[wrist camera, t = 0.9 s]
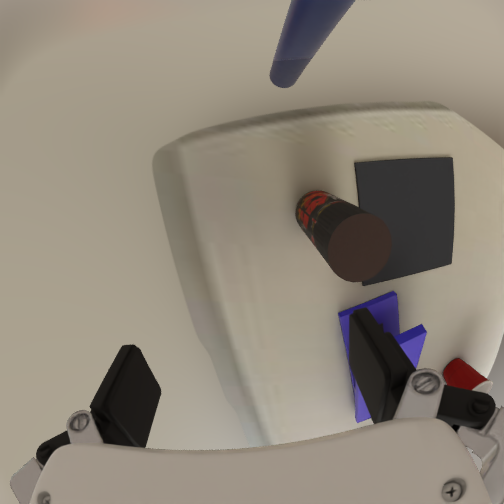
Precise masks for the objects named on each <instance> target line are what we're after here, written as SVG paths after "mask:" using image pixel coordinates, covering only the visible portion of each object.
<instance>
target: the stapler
mask: <svg viewBox="0 0 504 504" xmlns="http://www.w3.org/2000/svg"><path fill="white" fill-rule="evenodd" d="M365 307H367V308H368V310H369V311H370V313H371V314H372V315H373V317H374V318H375V320H376V321H377V323H378V324H379V325H380V327H381V328H382V330H383V331H384V333H385V332H390V333H391V334H392V335H393V336H394V338H395V339H396V341H397V342H398V343H399V345H400V346H401V348H402V349H403V351H404V352H405V353H406V355H407V356H408V358H409V359H410V361H411V362H412V364H413V365H414V367H415V368H416V367H417V364H418V361H419V358H420V354H421V351H422V348H423V344H424V340H425V337H426V333H427V331H426V330H425V328H424V327H423V325H422V324H421V325H419V326H416V327H414V328H412V329H410V330H408V331H405V332H403V333H401V334H400V331H399V314H398V301H397V294H396V293H395V292H394V291H392V292H389V293H387V294H385V295H382V296H380V297H377V298H375V299H373V300H370V301H368V302H365V303H363V304H360V305H358V306H355V307H353V308H350V309H347V310H345V311H342V312H339V313H338V316H339V320H340V324H341V329H342V333H343V338H344V343H345V347H346V352H347V357H348V362H349V315H350V314H353V311H354V310H357V309H361V308H365ZM349 368H350V365H349ZM350 373H351V378H352V384H353V390H354V395H355V418H356V421H357V423H359V422H361V421H364V420H367V419H369V418H371V416H370V413H369V411H368V409H367V406H366V404H365V401H364V399H363V397H362V394H361V392H360V389H359V387H358V385H357V382H356V380H355V378H354V375H353V373H352V371H351V368H350Z"/></svg>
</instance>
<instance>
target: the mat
mask: <svg viewBox="0 0 504 504" xmlns="http://www.w3.org/2000/svg"><path fill="white" fill-rule="evenodd" d="M354 164H355V172H356V180H357V190H358V200H359V208H361V209H363V210H365V211H367V212H369V213H371V214H373V215H375V216H377V217H378V218H380V219H381V220H382V221H384V223H385V224H386V226H387V227H388V229H389V231H390V234H391V240H392V247H391V254H390V256H389V259H388V261H387V263H386V264H385V266H384V267H383V269H382V270H381V271H380V272H379V273H378V274H377V275H375V276H373V277H372V278H370V279H368V280H365V281H362V285H363V286H366V285H371V284H375V283H379V282H383V281H388V280H392V279H396V278H400V277H404V276H408V275H412V274H416V273H420V272H423V271H427V270H431V269H435V268H438V267H442V266H445V265H449V264H451V263H452V253H453V239H454V212H455V198H454V171H453V158H451V157H449V158H416V159H397V160H382V161H370V162H359V163H354Z"/></svg>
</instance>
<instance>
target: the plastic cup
mask: <svg viewBox="0 0 504 504" xmlns="http://www.w3.org/2000/svg"><path fill="white" fill-rule="evenodd" d="M443 375H444V379H445V381H446V383H447V385H449V386H454V387H458V388H463V389H468V390H473V391H478V392H483V393H486V394H488V392H489V391H490V389H491V387H492V385H493V382H492V381H490V380H487V378H485V377H484V376H482V375H481V374H480V373H478V372H477V371H476V370H475V369H473V368H472V367H471V366H470V365H468V364H467V363H465V362H464V361H463V360H461V359H459V358H457V359H454V360H452V361H451V362H450V363H449V364H448V365H447V366H446V368H445V369H444V372H443Z"/></svg>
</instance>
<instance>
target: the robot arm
mask: <svg viewBox="0 0 504 504" xmlns="http://www.w3.org/2000/svg"><path fill="white" fill-rule="evenodd" d="M349 365H350V368H351V371H352V373H353V375H354V378H355V380H356V382H357V385H358V387H359V389H360V392H361V394H362V397H363V399H364V401H365V404H366V406H367V409H368V411H369V413H370V416H371V418H372V421H373V423H374V424H373V425H369V426H365V427H361V428H357V429H353V430H349V431H345V432H341V433H337V434H333V435H328V436H323V437H319V438H314V439H309V440H304V441H298V442H292V443H286V444H279V445H271V446H263V447H253V448H242V449H227V450H165V449H150V448H145V447H146V444H147V440H148V437H149V433H150V430H151V426H152V423H153V419H154V416H155V412H156V409H157V406H158V402H159V399H160V396H161V388H160V386H159V384H158V382H157V381H156V379H155V377H154V375H153V373H152V371H151V370H150V368H149V366H148V364H147V362H146V360H145V358H144V356H143V354H142V352H141V350H140V349H139V348H138V347H136V346H135V345H124V346H122V347H121V349H120V350H119V352H118V354H117V356H116V358H115V359H114V361H113V363H112V365H111V367H110V369H109V370H108V372H107V374H106V376H105V378H104V380H103V381H102V383H101V385H100V387H99V389H98V391H97V393H96V395H95V397H94V399H93V401H92V403H91V405H90V408H91V412H89V411H86V410H80V411H77V412H75V413H73V414H72V415H71V416H70V417H69V419H68V421H67V431H65V432H63V433H61V434H60V435H57V436H55V437H54V438H52V439H50V440H48V441H46V442H44V443H42V444H41V445H40V446H39V448H38V449H37V453H36V458H37V459H35V458H32V459H31V460H30V461H29V462H28V463H26V464H25V465H24V466H23V467H22V468H21V469H20V470H19V471H17V472H16V473H15V474H14V475H13V476H12V478H11V480H10V486H11V489H12V490H13V492H14V494H15V496H16V498H17V499H18V501H19V503H20V504H503V503H504V407H502V406H501V408H500V409H499V408H497V407H495V402H494V400H493V398H492V397H491V396H490V395H488V394H486V393H483V392H478V391H473V390H468V389H463V388H458V387H454V386H449V385H444V379H443V376H442V375H441V374H440V373H439V372H437V371H436V370H433V369H426V368H424V369H419V370H416V368H415V367H414V365H413V364H412V362H411V361H410V359H409V358H408V356H407V355H406V353H405V352H404V351H403V349H402V348H401V346H400V345H399V343H398V342H397V341H396V339H395V338H394V336H393V335H392V334H391V333H390V332H385V333H384V331H383V330H382V328H381V327H380V325H379V324H378V323H377V321H376V320H375V318H374V317H373V315H372V314H371V313H370V311H369V310H368V308H367V307H365V308H361V309H357V310H354V311H353V314H350V315H349ZM466 447H468V448H470V449H472V450H473V451H472V453H474V454H476V455H477V456H478V457H480V459H481V461H482V468H481V471H480V473H479V471H478V468H477V466H476V464H475V463H474V461H473V459H472V457H471V455H470V453H469V451H468V450H467V448H466ZM443 485H444V486H443Z"/></svg>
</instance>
